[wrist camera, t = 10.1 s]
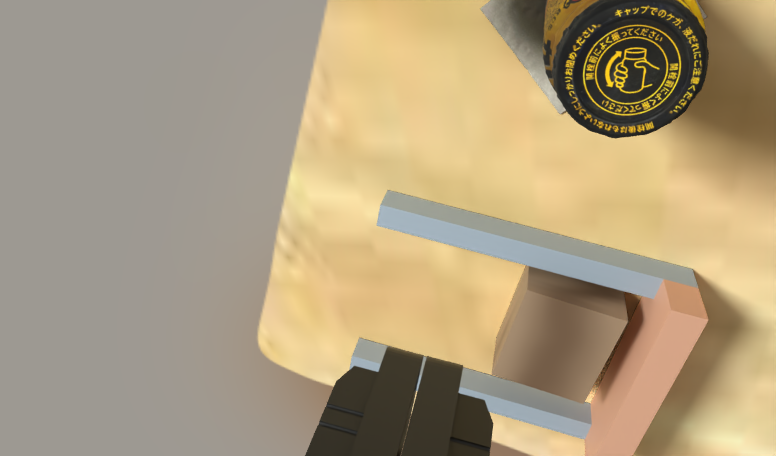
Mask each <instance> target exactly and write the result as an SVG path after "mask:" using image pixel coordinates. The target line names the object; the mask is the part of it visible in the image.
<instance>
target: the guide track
mask: <svg viewBox="0 0 776 456" xmlns="http://www.w3.org/2000/svg"><path fill="white" fill-rule="evenodd" d="M377 226H380V227H384V228H388V229H392V230H396V231H399V232H403V233H407V234H411V235H414V236H418V237H422V238H426V239H429V240H433V241H437V242H441V243H444V244H448V245H452V246H456V247H459V248H463V249H467V250H471V251H474V252H478V253H482V254H486V255H489V256H493V257H497V258H501V259H505V260H508V261H512V262H516V263H520V264H523V265H527V266H531V267H535V268H538V269H542V270H546V271H550V272H553V273H557V274H561V275H565V276H568V277H572V278H576V279H580V280H583V281H587V282H591V283H595V284H598V285H602V286H606V287H610V288H614V289H617V290H621V291H625V292H629V293H632V294H636V295H640V296H642V297H641V299H640V301H639V303H638V305H637V308H636V310H635V312H634V314H633V316H632V318H631V320H630V322H629V324H628V326H627V328H626V331H625V333H624V335H623V337H622V339H621V341H620V343H619V345H618V347H617V349H616V351H615V354H614V356H613V358H612V360H611V362H610V364H609V366H608V368H607V370H606V372H605V375H604V377H603V379H602V381H601V383H600V385H599V387H598V389H597V391H596V393H595V395H594V398H593V400H592V402H591V404H590V403H586V402H584V404H581V403H578V402H575V401H572V400H569V399H566V398H563V397H560V396H557V395H554V394H551V393H548V392H545V391H541V390H538V389H535V388H532V387H529V386H526V385H523V384H520V383H516V382H513V381H509V380H506V379H502V378H499V377H495V376H492V375H488V374H485V373H481V372H478V371H474V370H471V369H467V368H464V367H463V371H462V377H461V382H460V387H459V393H460V394H464V395H468V396H472V397H475V398H479V399H483V400H485V402H486V405H487V408H488V411H489V412H492V413H495V414H499V415H502V416H506V417H509V418H512V419H516V420H519V421H523V422H526V423H530V424H533V425H536V426H540V427H543V428H547V429H550V430H554V431H557V432H561V433H564V434H567V435H571V436H574V437H578V438H581V439H585V456H633V454H634V452H635V450H636V449H637V447H638V445H639V443H640V442H641V440H642V438H643V436H644V434H645V433H646V431H647V429H648V427H649V426H650V424H651V422H652V420H653V418H654V417H655V415H656V413H657V411H658V410H659V408H660V406H661V404H662V402H663V401H664V399H665V397H666V395H667V393H668V392H669V390H670V388H671V386H672V385H673V383H674V381H675V379H676V377H677V376H678V374H679V372H680V370H681V369H682V367H683V365H684V363H685V361H686V360H687V358H688V356H689V354H690V353H691V351H692V349H693V347H694V345H695V344H696V342H697V340H698V338H699V336H700V335H701V333H702V331H703V329H704V328H705V326H706V324H707V322H708V320H709V319H708V316H707V313H706V310H705V307H704V304H703V301H702V298H701V294H700V291H699V288H698V285H697V282H696V279H695V276H694V273H693V269H690V268H686V267H682V266H678V265H674V264H670V263H667V262H663V261H659V260H655V259H651V258H647V257H643V256H640V255H636V254H632V253H628V252H624V251H620V250H617V249H613V248H609V247H605V246H601V245H597V244H593V243H590V242H586V241H582V240H578V239H574V238H570V237H566V236H563V235H559V234H555V233H551V232H547V231H543V230H540V229H536V228H532V227H528V226H524V225H520V224H516V223H513V222H509V221H505V220H501V219H497V218H493V217H490V216H486V215H482V214H478V213H474V212H470V211H466V210H463V209H459V208H455V207H451V206H447V205H443V204H440V203H436V202H432V201H428V200H424V199H420V198H416V197H413V196H409V195H405V194H401V193H397V192H393V191H390V190H388V191H387V193H386V195H385V197H384V199H383V201H382V203H381V205H380V211H379V216H378V221H377ZM387 347H388V346H386V345H383V344H379V343H376V342H372V341H369V340H365V339H362V338H359V340H358V343H357V345H356V348H355V350H354V353H353V355H352V359H351V365H350V369H351V368H352V367H353V366H358V367H361V368H365V369H369V370H373V371H377V372H378V371H379V368H380V365H381V363H382V360H383V357H384V354H385V351H386V349H387ZM389 347H390V346H389ZM426 358H427V357H425V356H424V357H423V362H422V366H421V371H420V375H419V380H418V384H417V389H416V391H418V388H419V384H420V380H421V377H422V373H423V369H424V365H425V361H426Z"/></svg>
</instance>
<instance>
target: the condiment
mask: <svg viewBox="0 0 776 456" xmlns="http://www.w3.org/2000/svg"><path fill="white" fill-rule="evenodd" d="M480 9H481V11H482V12H483V13H484V15H485V16H486V17H487V19H488V20H489V21H490V22H491V23H492V25H493V26H494V27H495V29H496V30H497V31H498V33H499V34H500V35H501V36H502V38H503V39H504V40H505V42H506V43H507V44H508V46H509V47H510V48H511V49H512V51H513V52H514V53H515V55H516V56H517V57H518V59H519V60H520V62H521V63H522V64H523V66H524V67H525V68H526V69H527V70H528V72H529V73H530V75H531V76H532V78H533V79H534V80H535V81H536V83H537V84H538V86H539V87H540V88H541V90H542V91H543V92H544V93H545V95H546V96H547V97H548V99H549V100H550V102H551V103H552V104H553V106H554V107H555V108H556V110H557V111H558V112H559V114H561V113H563V112H564V111H567V112H568V114H570V116H571V117H572V118H573V119H574V120H575V121H576V122H577V123H579V124H580V125H582V126H584V127H585V128H587V129H588V130H589V131H592V132H595V133H599V134H602V135H605V136H608V137H611V138H620V137H631V136H637V135H646V134H649V133H651V132H654V131H656V130H658V129H660V128H661V127H663V126H665V125H667V124H669V123H671V122H672V121H673V120H674V119H676V118H677V117H679V116H680V115H681V114H683V113H684V112H685V111H686V110H687V108H688V106H689V104H690V103H691V101H692V100H693V99H694V98H695V96H696V95H697V94H698V93H699V92H700V90H701V89H702V86H703V83H704V81H705V77H706V71H707V65H708V54H709V52H708V48H707V36H706V34H705V24H704V19H705V18H707V16H706V14H705V13H704V11H703V9H702V8H701V6H700V5H699V3H698V2H697V0H490V1H489V2H488V3H487V4H485V5H484V6H483V7H482V8H480Z"/></svg>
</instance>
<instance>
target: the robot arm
mask: <svg viewBox="0 0 776 456" xmlns="http://www.w3.org/2000/svg"><path fill="white" fill-rule="evenodd" d="M423 357H424V355H420V354H416V353H412V352H409V351H405V350H401V349H397V348H393V347H389V346H388V347H387V349H386V351H385V354H384V357H383V360H382V363H381V365H380V368H379V371H378V372H377V371H373V370H369V369H365V368H361V367H358V366H353V367H352V368H351V369H350V370H349V371H348V372H347V373H345V374H344V375H343V376H342V377H341V378H340V379H339V380H337V381H336V383H335V386H334V388H333V390H332V393H331V395H330V397H329V400H328V402H327V406H326V407H325V410H324V412H323V414H322V417H321V419H320V422H319V425H318V426H317V429H316V431H315V433H314V436H313V438H312V441H311V443H310V445H309V448H308V450H307V452H306V455H305V456H489V455H490V447H491V439H492V430H493V422H492V419H491V416H490V413H489V411H488V408H487V405H486V402H485V400H483V399H479V398H475V397H472V396H468V395H464V394H460V393H459V387H460V382H461V377H462V371H463V365H459V364H455V363H452V362H448V361H444V360H440V359H436V358H432V357H428V356H427V358H426V361H425V365H424V369H423V373H422V377H421V380H420V384H419V388H418V392H417V396H416V400H415V403H414V398H415V393H416V389H417V384H418V380H419V375H420V371H421V366H422V362H423ZM413 403H414V407H413ZM412 407H413V411H412ZM411 412H412V415H411ZM410 416H411V419H410ZM409 420H410V423H409ZM408 424H409V426H408ZM407 428H408V430H407ZM406 433H407V434H406ZM405 437H406V438H405ZM404 441H405V442H404ZM403 444H404V446H403ZM402 448H403V450H402ZM401 452H402V453H401Z"/></svg>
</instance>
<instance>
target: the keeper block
mask: <svg viewBox="0 0 776 456" xmlns="http://www.w3.org/2000/svg"><path fill="white" fill-rule="evenodd" d="M627 323H628V317H627V310H626V303H625V296H624V291H621V290H617V289H614V288H610V287H606V286H602V285H598V284H595V283H591V282H587V281H583V280H580V279H576V278H572V277H568V276H565V275H561V274H557V273H553V272H550V271H546V270H542V269H538V268H535V267H531V266H527V265H526V266H525V269H524V271H523V274H522V276H521V278H520V281H519V283H518V286H517V288H516V291H515V293H514V296H513V298H512V300H511V303H510V305H509V308H508V310H507V313H506V315H505V318H504V320H503V322H502V325H501V327H500V330H499V332H498V335H497V337H496V345H495V353H494V360H493V368H492V375H495V376H498V377H501V378H505V379H508V380H511V381H514V382H517V383H520V384H523V385H526V386H529V387H532V388H535V389H538V390H541V391H545V392H548V393H551V394H554V395H557V396H560V397H563V398H566V399H569V400H572V401H575V402H578V403H581V404H584V402H585V400H586V398H587V396H588V394H589V393H590V391H591V389H592V387H593V385H594V383H595V382H596V380H597V378H598V376H599V374H600V372H601V371H602V369H603V367H604V365H605V363H606V361H607V360H608V358H609V356H610V354H611V352H612V350H613V349H614V347H615V345H616V343H617V341H618V339H619V338H620V336H621V334H622V332H623V330H624V328H625V327H626V325H627Z"/></svg>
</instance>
